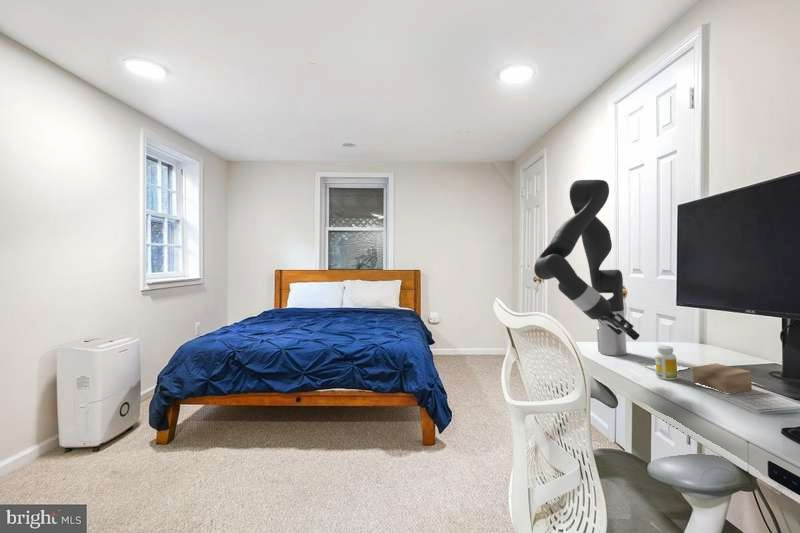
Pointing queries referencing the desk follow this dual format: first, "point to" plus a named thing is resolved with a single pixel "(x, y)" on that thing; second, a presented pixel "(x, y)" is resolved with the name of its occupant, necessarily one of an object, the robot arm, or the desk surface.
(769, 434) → the desk surface
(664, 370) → the supplement bottle
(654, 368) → the page
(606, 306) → the robot arm
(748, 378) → the walnut block
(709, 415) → the desk surface
